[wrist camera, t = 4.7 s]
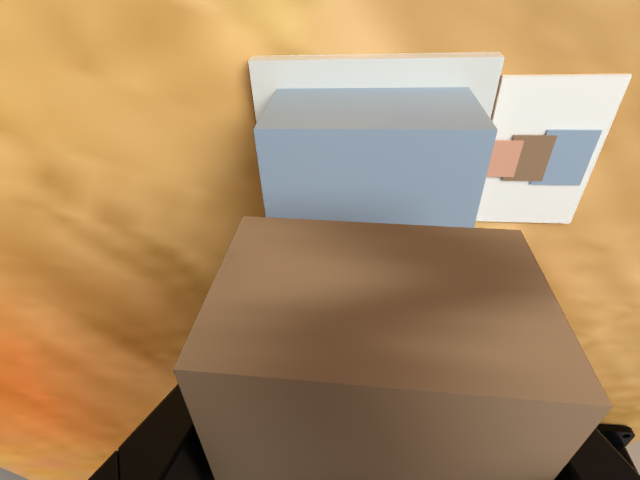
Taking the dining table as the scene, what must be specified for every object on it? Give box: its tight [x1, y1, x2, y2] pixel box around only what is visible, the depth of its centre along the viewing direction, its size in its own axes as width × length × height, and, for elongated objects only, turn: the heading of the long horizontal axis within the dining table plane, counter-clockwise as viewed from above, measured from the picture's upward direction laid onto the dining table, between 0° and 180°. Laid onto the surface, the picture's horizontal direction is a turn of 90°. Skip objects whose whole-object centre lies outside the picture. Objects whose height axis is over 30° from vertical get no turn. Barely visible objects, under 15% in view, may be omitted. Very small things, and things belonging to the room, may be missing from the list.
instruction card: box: [476, 74, 632, 223], centre depth 16 cm, size 4×6×1 cm
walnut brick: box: [173, 216, 613, 480], centre depth 9 cm, size 6×6×4 cm
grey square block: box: [248, 52, 505, 228], centre depth 15 cm, size 9×9×5 cm
